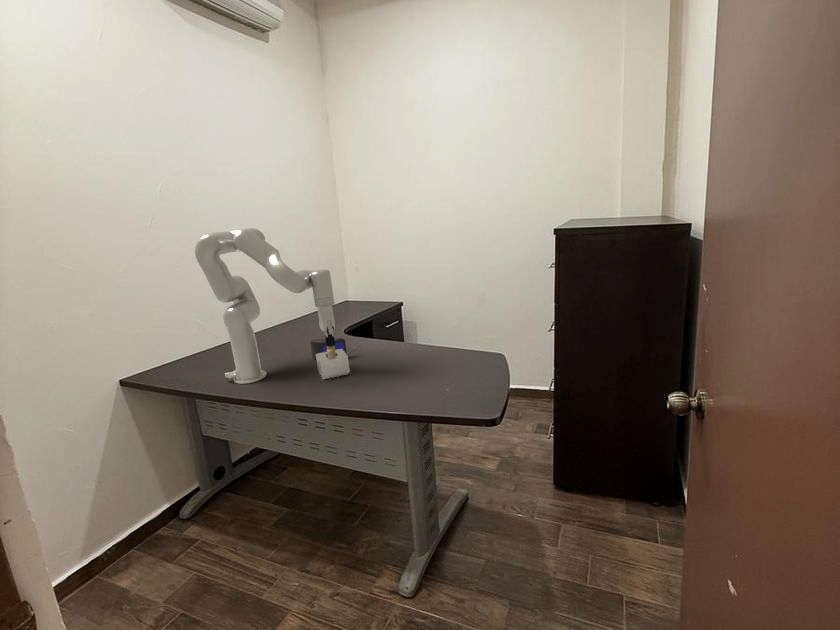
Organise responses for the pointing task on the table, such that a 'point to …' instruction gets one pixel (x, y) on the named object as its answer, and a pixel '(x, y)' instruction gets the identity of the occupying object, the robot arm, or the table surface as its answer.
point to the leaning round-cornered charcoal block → (321, 346)
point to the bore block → (332, 364)
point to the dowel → (331, 351)
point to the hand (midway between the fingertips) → (330, 345)
